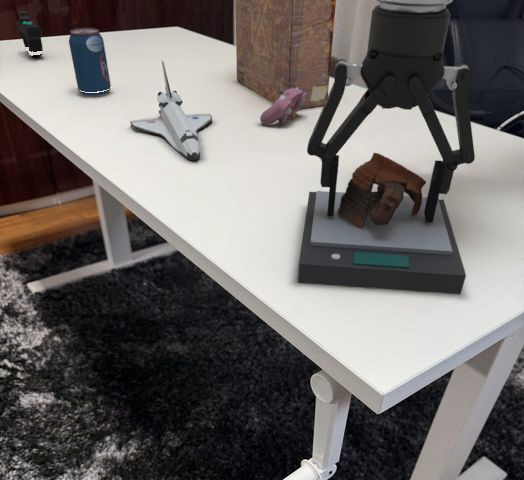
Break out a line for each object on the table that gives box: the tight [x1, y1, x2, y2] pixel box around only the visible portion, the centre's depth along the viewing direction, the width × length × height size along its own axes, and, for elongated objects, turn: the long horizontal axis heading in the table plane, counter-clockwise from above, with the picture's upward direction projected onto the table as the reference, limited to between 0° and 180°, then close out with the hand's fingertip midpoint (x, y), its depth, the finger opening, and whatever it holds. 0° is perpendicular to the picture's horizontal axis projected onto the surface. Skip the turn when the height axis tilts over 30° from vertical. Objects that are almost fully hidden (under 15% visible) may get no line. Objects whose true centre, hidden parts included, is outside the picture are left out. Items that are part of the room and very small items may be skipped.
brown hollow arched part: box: [338, 152, 427, 228], centre depth 65 cm, size 12×10×8 cm
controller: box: [16, 10, 44, 57], centre depth 140 cm, size 4×12×10 cm, turn 31°
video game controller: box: [259, 88, 307, 126], centre depth 103 cm, size 10×5×7 cm, turn 150°
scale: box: [297, 190, 467, 295], centre depth 67 cm, size 18×19×3 cm
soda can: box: [68, 27, 112, 98], centre depth 114 cm, size 7×7×12 cm
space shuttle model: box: [129, 60, 213, 161], centre depth 94 cm, size 16×25×10 cm, turn 18°
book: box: [234, 0, 337, 110], centre depth 109 cm, size 25×9×30 cm, turn 27°
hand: (379, 214), depth 66 cm, fingers open, 11 cm apart
